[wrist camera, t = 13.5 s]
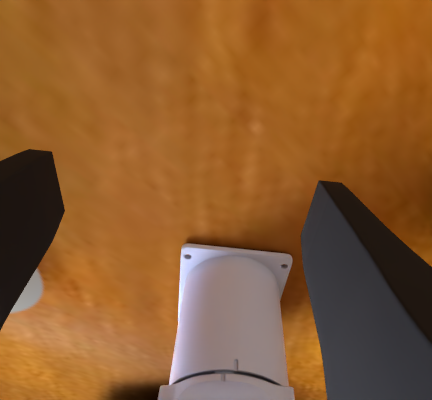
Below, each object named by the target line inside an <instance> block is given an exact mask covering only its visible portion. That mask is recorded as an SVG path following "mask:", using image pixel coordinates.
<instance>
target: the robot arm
mask: <svg viewBox="0 0 432 400" xmlns="http://www.w3.org/2000/svg"><path fill="white" fill-rule="evenodd" d="M64 212H65V209H64V205H63V200H62V196H61V191H60V187H59V182H58V177H57V173H56V168H55V164H54V159H53V155H52V152H50V151H41V150H32V149H28V150H26V151H23V152H20V153H18V154H15V155H13V156H11V157H9V158H6V159H4V160H2V161H0V330H1V328H2V326H3V324H4V322H5V321H6V319H7V317H8V315H9V313H10V311H11V310H12V308H13V306H14V305H15V303H16V301H17V300H18V298H19V296H20V295H21V293H22V291H23V290H24V288H25V286H26V285H27V283H28V281H29V280H30V278H31V276H32V275H33V273H34V271H35V270H36V268H37V267H38V265H39V263H40V262H41V260H42V258H43V256H44V255H45V253H46V251H47V250H48V248H49V246H50V244H51V243H52V241H53V239H54V236H55V234H56V232H57V229H58V227H59V224H60V222H61V219H62V217H63V214H64ZM301 247H302V259H303V269H304V274H305V278H306V283H307V288H308V292H309V297H310V301H311V306H312V310H313V315H314V319H315V324H316V328H317V333H318V337H319V342H320V347H321V353H322V359H323V367H324V375H325V384H326V393H327V400H432V267H431V266H430V265H429V264H427V263H426V262H425V261H424V260H423V259H422V258H420V257H419V256H418V255H417V254H416V253H415V252H414V251H412V250H411V249H410V248H409V247H408V246H407V245H406V244H404V243H403V242H402V241H401V240H400V239H399V238H398V237H397V236H396V235H395V234H394V233H393V232H392V231H390V230H389V229H388V228H387V227H386V226H385V225H384V224H383V223H382V222H381V221H380V220H379V219H378V218H377V217H376V216H375V215H374V214H373V213H372V212H371V211H370V210H369V209H368V208H367V207H366V206H365V205H364V204H363V203H362V202H361V201H360V200H359V199H358V198H357V197H356V196H355V195H354V194H353V193H352V192H351V191H350V190H349V189H348V188H347V187H346V186H344V185H343V184H342V183H339V182H329V181H320V180H319V181H318V184H317V188H316V191H315V194H314V197H313V200H312V203H311V206H310V209H309V212H308V215H307V218H306V221H305V224H304V227H303V230H302V233H301ZM186 254H189V255H186ZM292 262H293V260H292V256H291V255H290V254H285V253H276V252H266V251H257V250H247V249H237V248H228V247H218V246H209V245H199V244H190V243H187V244H184V245H183V246H182V249H181V266H180V288H179V310H178V321H179V324H178V330H177V336H176V343H175V349H174V356H173V362H172V368H171V375H170V381H169V385H161V386H160V390H159V396H158V400H295V398H294V389H293V387H289V383H288V374H287V364H286V355H285V345H284V336H283V326H282V317H281V307H280V299H281V296H282V293H283V290H284V287H285V284H286V281H287V278H288V275H289V271H290V268H291V265H292ZM283 264H286V265H283Z"/></svg>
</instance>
